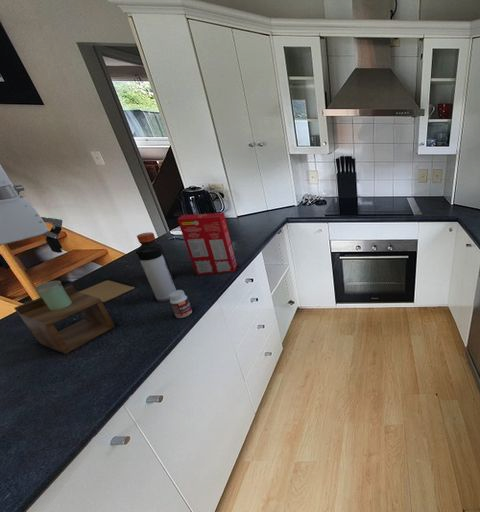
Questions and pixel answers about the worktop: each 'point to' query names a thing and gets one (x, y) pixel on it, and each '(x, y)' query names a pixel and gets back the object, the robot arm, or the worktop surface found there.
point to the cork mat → (107, 290)
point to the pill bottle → (180, 304)
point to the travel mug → (156, 272)
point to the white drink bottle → (151, 245)
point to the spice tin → (53, 295)
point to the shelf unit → (74, 335)
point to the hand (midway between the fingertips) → (32, 259)
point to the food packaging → (208, 243)
